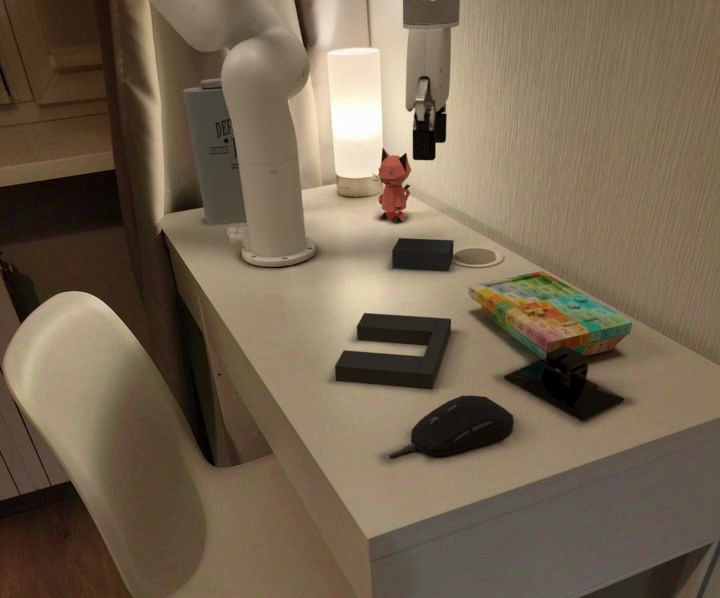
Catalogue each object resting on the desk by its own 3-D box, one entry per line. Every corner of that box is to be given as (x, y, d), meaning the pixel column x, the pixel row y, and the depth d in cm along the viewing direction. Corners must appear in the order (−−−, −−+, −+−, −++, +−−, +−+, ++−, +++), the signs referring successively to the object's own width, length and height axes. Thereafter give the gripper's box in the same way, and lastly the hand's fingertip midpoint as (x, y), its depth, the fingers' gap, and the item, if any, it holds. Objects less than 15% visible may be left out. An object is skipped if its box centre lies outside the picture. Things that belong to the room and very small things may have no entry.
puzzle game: (549, 335, 84) (469, 279, 100) (545, 371, 87) (467, 311, 103) (633, 316, 87) (542, 264, 103) (626, 351, 90) (539, 296, 106)
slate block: (448, 271, 114) (448, 252, 112) (392, 268, 116) (392, 250, 114) (453, 258, 118) (453, 240, 117) (399, 255, 120) (399, 237, 118)
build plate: (502, 379, 88) (505, 344, 85) (545, 360, 91) (549, 326, 88) (582, 422, 79) (588, 385, 76) (626, 400, 82) (633, 364, 80)
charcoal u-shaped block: (432, 388, 86) (432, 374, 85) (335, 380, 89) (334, 366, 88) (450, 332, 98) (451, 318, 96) (364, 326, 100) (364, 312, 99)
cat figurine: (369, 219, 135) (366, 150, 128) (394, 209, 139) (393, 142, 132) (395, 227, 131) (394, 157, 124) (421, 217, 135) (422, 148, 127)
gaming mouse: (376, 442, 78) (374, 411, 76) (491, 406, 83) (493, 375, 80) (404, 474, 74) (403, 441, 71) (524, 433, 78) (528, 401, 76)
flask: (206, 225, 137) (180, 76, 121) (205, 218, 140) (179, 72, 125) (297, 214, 139) (283, 67, 124) (293, 207, 143) (279, 63, 127)
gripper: (415, 7, 103) (415, 136, 114) (389, 22, 90) (392, 166, 101) (467, 5, 102) (463, 136, 112) (449, 20, 89) (446, 167, 99)
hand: (429, 150), depth 107 cm, fingers open, 9 cm apart
